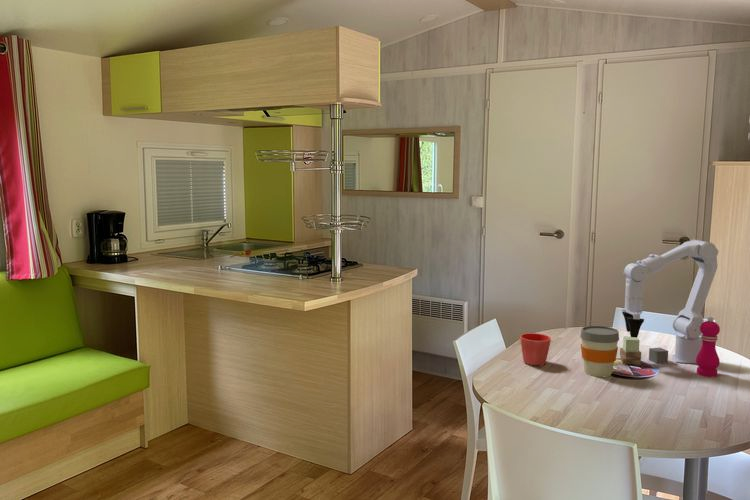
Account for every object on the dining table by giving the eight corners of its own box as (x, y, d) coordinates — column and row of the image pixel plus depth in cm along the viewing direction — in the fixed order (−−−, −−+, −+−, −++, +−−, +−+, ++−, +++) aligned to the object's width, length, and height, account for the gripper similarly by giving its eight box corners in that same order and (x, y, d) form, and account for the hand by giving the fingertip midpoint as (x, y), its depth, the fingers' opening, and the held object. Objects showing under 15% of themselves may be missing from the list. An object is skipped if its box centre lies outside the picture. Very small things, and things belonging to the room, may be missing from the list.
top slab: (634, 354, 233) (635, 348, 233) (641, 359, 228) (641, 352, 227) (619, 354, 233) (620, 348, 233) (625, 359, 228) (625, 352, 227)
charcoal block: (659, 359, 234) (660, 347, 234) (667, 363, 230) (668, 350, 229) (648, 360, 233) (649, 348, 233) (656, 363, 229) (657, 351, 228)
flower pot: (547, 358, 236) (547, 333, 234) (552, 367, 225) (553, 341, 224) (517, 357, 237) (518, 332, 235) (521, 367, 226) (522, 340, 225)
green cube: (635, 348, 232) (636, 336, 231) (638, 352, 227) (639, 340, 227) (622, 348, 233) (623, 336, 232) (625, 351, 228) (626, 339, 228)
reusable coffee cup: (575, 375, 217) (577, 332, 215) (582, 364, 228) (584, 323, 226) (614, 380, 211) (616, 336, 209) (619, 369, 222) (621, 328, 220)
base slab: (637, 361, 233) (637, 355, 233) (640, 366, 227) (640, 360, 227) (620, 360, 234) (620, 354, 234) (622, 365, 228) (622, 358, 228)
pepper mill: (721, 378, 213) (725, 319, 210) (698, 376, 215) (702, 319, 212) (714, 371, 220) (718, 314, 217) (692, 370, 222) (695, 314, 219)
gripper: (618, 292, 235) (616, 328, 237) (625, 301, 221) (623, 339, 223) (638, 293, 234) (637, 329, 236) (647, 301, 220) (645, 340, 222)
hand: (631, 334), depth 229 cm, fingers open, 7 cm apart
